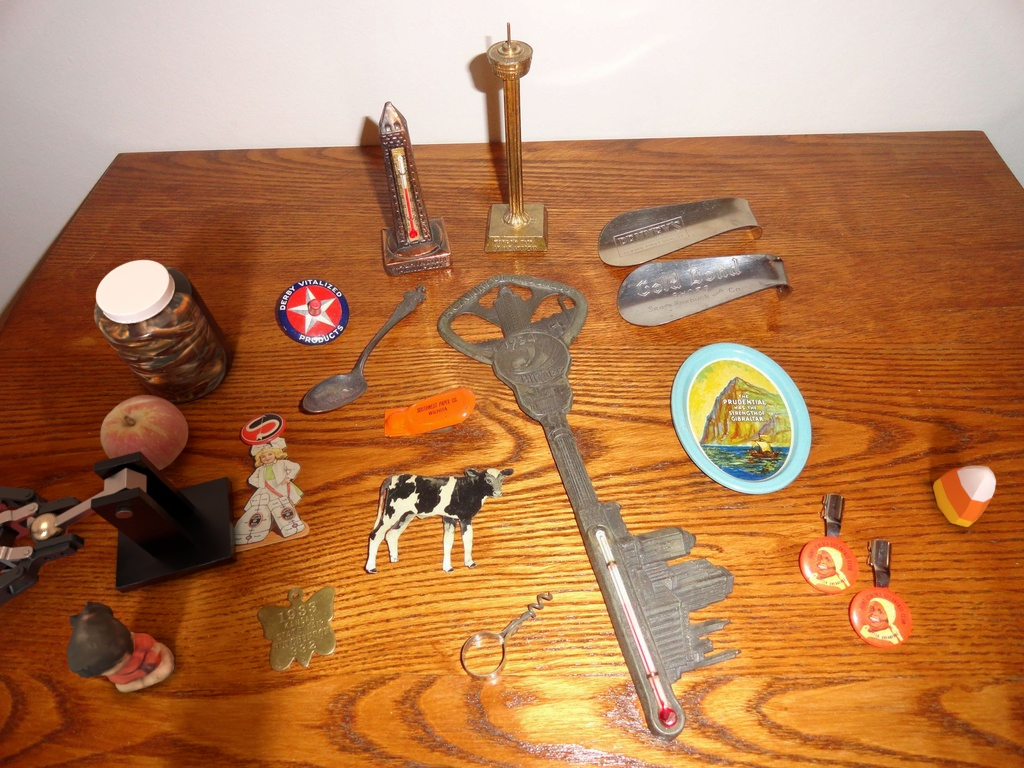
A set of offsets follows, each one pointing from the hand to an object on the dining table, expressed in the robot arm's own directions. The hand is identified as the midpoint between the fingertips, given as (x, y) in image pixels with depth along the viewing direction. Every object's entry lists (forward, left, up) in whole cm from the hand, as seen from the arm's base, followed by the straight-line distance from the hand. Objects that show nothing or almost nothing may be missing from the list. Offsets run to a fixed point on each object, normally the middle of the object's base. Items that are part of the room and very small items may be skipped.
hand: (80, 522), depth 70 cm
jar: (+23, +11, -8) cm, 26 cm away
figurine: (-7, -11, -8) cm, 16 cm away
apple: (+11, +5, -8) cm, 15 cm away
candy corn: (+47, -77, -8) cm, 91 cm away
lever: (+2, -2, +1) cm, 2 cm away
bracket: (+5, -5, -8) cm, 10 cm away
